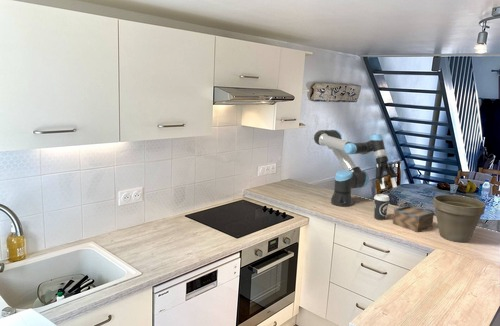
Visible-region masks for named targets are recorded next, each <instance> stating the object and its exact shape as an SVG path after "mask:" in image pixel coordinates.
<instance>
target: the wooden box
mask: <svg viewBox="0 0 500 326" xmlns="http://www.w3.org/2000/svg"><path fill="white" fill-rule="evenodd" d="M434 216H435V212H434V211H430V210H426V209H424V208H419V207H416V206H412V205H405V206H401V207H398V208H394V211H393V218H392V219H393V220H392V224H393V225H395V226H398V227H402V228H405V229H407V230H411V231H413V232H415V233H419V232H422V231H425V230H427V229H430V228H433V224H434Z"/></svg>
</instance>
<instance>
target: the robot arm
mask: <svg viewBox="0 0 500 326" xmlns="http://www.w3.org/2000/svg"><path fill="white" fill-rule="evenodd" d="M369 139H370V140H368V141H365V142H352V141H349V140H345V139H343V136H342V133H341V131H339V130H338V129H321V130H318V131H316V132H315V133H314V135H313V141H314V143H315V144H316V145H318V146H320V147H324V146H326V147H327V148H328V149H329V150H332V152H333V154H334V155H335V157H336V159H337V160H338V162H339V163H340V165H341V167H342V168H343V170H338V171H337V172H336V173H335V177H334V189H333V193H332V196H331V199H330V203H331V205H334V206H336V207H337V206H339V207H344V208H345V207H352V206H353V198H352V189H359V188H364V187H366V186H367V185H368V184H369V180H370V177H369V173H368V172H367V171H364V170H362V169H361V168H360V167H361V166H357V165H356V164H355V163H354V161H353V159H352V158H351V155H357V154H358V155H359V154H360V155H363V156H364V155H368V154H370V153H372V152H373V154H374V159H375V162H376V164H375V179H376V180H378V182H379V185H380V189H381V190H384V189H386V185H385V181H384V178H383V174H384V172H386V173H387V175H388V176H389V178H390V181H391V186H392V188H393V189H395V188H398V184H397V180H396V177H397V174H396V172H395V170H394V169H393V166H392V164H391V163H390V162H389V158H388V156H387V150H386V147H385V143H384V139H383V137H382V134H380V133H377V134H373V135H371V136H370V137H369ZM388 162H389V163H388Z"/></svg>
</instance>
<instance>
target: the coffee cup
mask: <svg viewBox="0 0 500 326" xmlns="http://www.w3.org/2000/svg"><path fill="white" fill-rule="evenodd" d="M373 199H374V219H375V220H378V221H385V220H386V217H387V211H388V207H389V204H390V203H389V202H390V200H391V199H390V196H389V195H387V194H383V193H378V194H375V195H374V197H373Z"/></svg>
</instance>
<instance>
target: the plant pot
mask: <svg viewBox="0 0 500 326" xmlns="http://www.w3.org/2000/svg"><path fill="white" fill-rule="evenodd" d="M432 198H433V201H432V202H433V203H432V205H433V208H434V210H435V215H436V222H437V227H438V233H439V236H440V237H442V239H445V240H448V241H449V242H450V241H451V242H456V243H468V242H469V241H470V239H471V237H472V236H473V234H474V231H475V230H476V228H477V226H478V223H479V221H480V219H481V217H482V216H483V215H484V214H485V211H486V206H487V205H486V203H485V202H484V201H483V200H479V199H476V198H473V197H469V196H462V195H457V194H456V195H455V194H437V195H435V196H433V197H432Z"/></svg>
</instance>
